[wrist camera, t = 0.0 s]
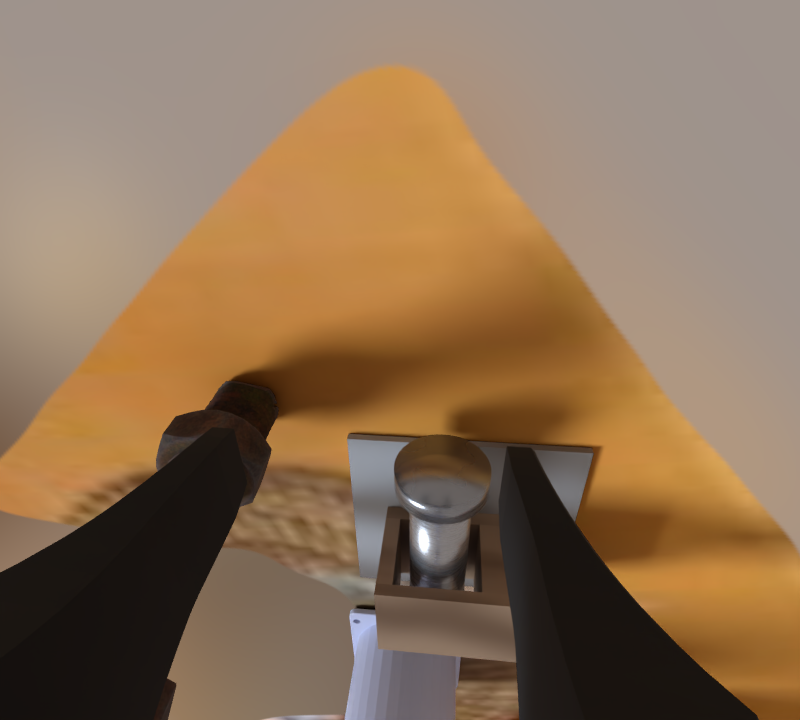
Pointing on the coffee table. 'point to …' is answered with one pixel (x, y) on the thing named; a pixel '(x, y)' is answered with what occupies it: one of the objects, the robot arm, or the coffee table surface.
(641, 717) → the robot arm
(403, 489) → the pin
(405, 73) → the coffee table surface
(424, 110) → the coffee table surface
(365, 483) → the block
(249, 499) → the bolt
